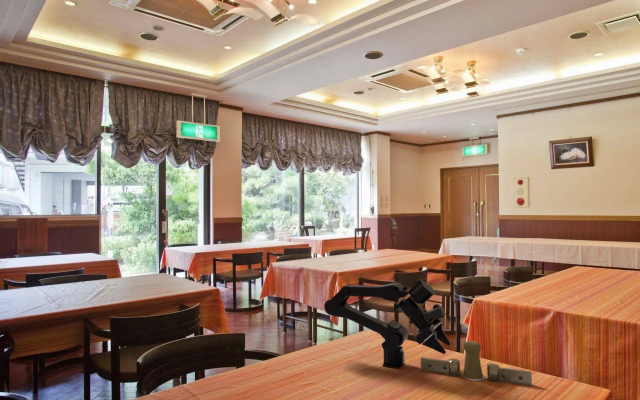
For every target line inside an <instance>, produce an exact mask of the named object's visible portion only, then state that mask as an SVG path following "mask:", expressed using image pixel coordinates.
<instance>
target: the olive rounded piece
mask: <svg viewBox="0 0 640 400" xmlns="http://www.w3.org/2000/svg"><path fill="white" fill-rule="evenodd" d="M481 348H482V347H481V344H480V342H477V341H474V340H467V341H465V342H464V344H463V350H464V352H465V353H464V354H465V357H464V363H463V364H464V365H463V374H462V376H463V375H464V376H465V377H466V378H469V379H481V378H483V371H482V364H481V357H480V352H481Z"/></svg>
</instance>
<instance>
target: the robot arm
mask: <svg viewBox="0 0 640 400" xmlns="http://www.w3.org/2000/svg"><path fill="white" fill-rule="evenodd" d="M434 295H436V293H435V290H434V289H433V287H432V286H431V285H430V284H428V283H427V282H426V281H423V279H421V278H420V279H419V280H418V281H417V282H416V283H415V284H414V285H413V286H412V287H410V286H409V287H408V286H405V285H403V284H402V283H400V282H391V283H386V284H381V285H374V284H373V285H367V284H360V285H359V284H349V283H348V284H346V285H344V286H342V287H341V288H340V290H338V292H337V293H335V294H334V296H332V297H331V298H330V299H328V300H326V301H325V302H324V304H323V307H324V311H325V313H326V314H327V315H329V316H333V317H336V318H344V319H347V320H350V321H352V322H354V323H356V324H358V325H360V326H362V327H363V328H366V329H368V330H371V332H374V333H376V334H379V335H380V336H381V337H382V339H383V342H382V343H381V347H382V349H383V363H382V364H381V365H382V366H383V367H386V368H394V369H401V368H402V367H403V365H404V364H405V363H406V362H405V360H406V359H405V351H403V349H404V348H403V344H404V342H406V340H407V339H408V338H409V332H408V329H407V327H405V326H404V325H403V323H401V322H400V323H399V322H398V321H396V320H394V319H391V320H389V322H385V321H383V320H380V319H379V318H376V317H374V316H372V315H370V314H368V313H366V312H363V311H361V310H359V309H357V308H355V307H352V306H351V305H350V304H349V303H348V301H349V298H351V297H363V298H365V297H366V298H367V297H368V298H370V297H372V298H379V299H382V300H384V301H389V302H394V303H393V312H394V313H395V312H398V310H400V311H401V312H402V313H403V314H404V316H406V317H407V319H408V320H409V323H410V325H412V324H413V325H414V327H415V328H416V329H418V331H417V332H418V333H416V335H415V341H416V342H417V344H418V345H421V346H425V347H427V348H430V349H432V350H434V351H436V352H438V353H441V354H442V355H445V354H446V353H447V350H446V349H445V347H444V346H443V345H442V344H444V345H446V346H448V347H450V345H452V344H451V341H450V340H449V338H448V336H447V334H446V332H445V331H444V328H443V327H444V325H443V324H444V322H443V318H444V317H445V316H446V315H447V313H446V311H445V308H444V307H443V306H442V305H440V304H439V303H435V304H433V305H432V309H429V310H427V309H426V308H422V307H420V305H425V303H427V301H429V300H430V299H431V298H432V297H433V296H434ZM407 296H408V297H407ZM406 297H407V298H406ZM400 299H401V300H400ZM397 301H398V302H397Z"/></svg>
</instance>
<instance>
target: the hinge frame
mask: <svg viewBox="0 0 640 400" xmlns="http://www.w3.org/2000/svg"><path fill="white" fill-rule="evenodd" d="M420 371H424V372H431V373H439V374H445V375H449V376H452V377H459V376H461V361H460V359H458V358H450V359H448V360H446V359H436V358H429V357H420ZM486 372H487V373H486V376H487V377H485V375H483V374H482V375H483V378H481V379H469V378H466V377H465V376H464V375H463V374H462V377H463V378H464V380H468V381H471V382H481V381H484V380H485V378H487V381H489V382H492V383H499V382H502V383H509V384H517V385H523V386H531V387H532V385H533V383H532V381H533V379H532V371H530V370H522V369H518V368H517V369H514V368H508V367H500V366H499V364H496V363H487V364H486Z"/></svg>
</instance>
